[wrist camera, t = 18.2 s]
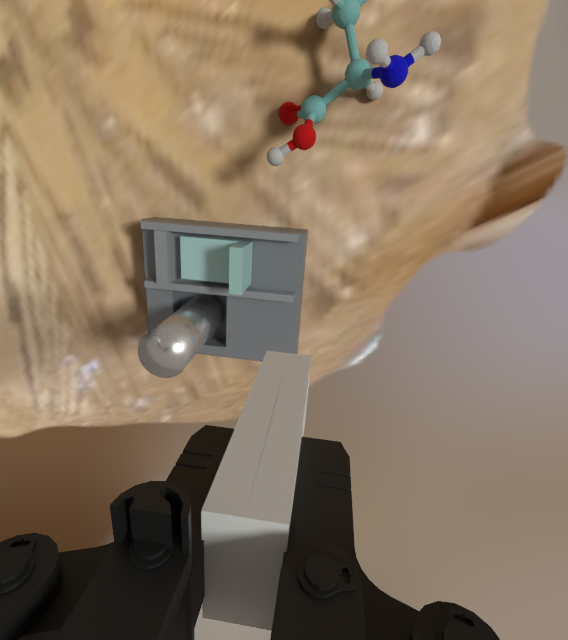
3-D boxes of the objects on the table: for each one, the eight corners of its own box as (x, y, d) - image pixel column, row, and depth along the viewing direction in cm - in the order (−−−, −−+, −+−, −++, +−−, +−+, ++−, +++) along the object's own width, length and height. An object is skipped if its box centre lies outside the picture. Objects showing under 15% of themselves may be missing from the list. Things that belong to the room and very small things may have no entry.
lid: (183, 276, 33) (166, 287, 29) (182, 235, 32) (164, 241, 28) (251, 283, 32) (241, 295, 29) (252, 241, 31) (242, 248, 28)
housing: (161, 338, 38) (141, 355, 34) (154, 217, 34) (131, 221, 30) (297, 353, 37) (292, 373, 33) (307, 229, 33) (304, 235, 29)
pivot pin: (189, 327, 37) (139, 374, 28) (188, 291, 36) (135, 329, 26) (224, 330, 36) (187, 380, 27) (224, 295, 35) (185, 334, 26)
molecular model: (252, -52, 24) (319, -75, 17) (377, -23, 27) (476, -31, 20) (242, 141, 31) (286, 184, 24) (342, 145, 34) (407, 184, 27)
